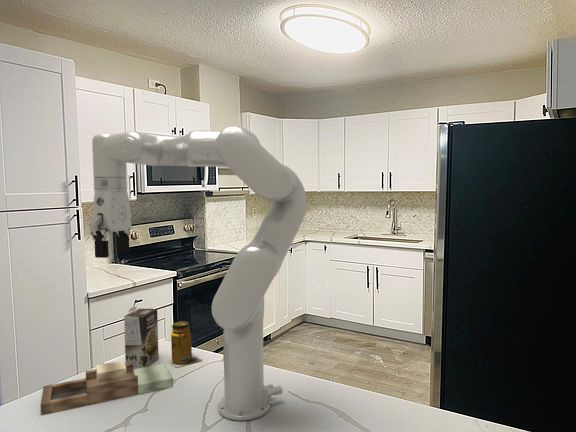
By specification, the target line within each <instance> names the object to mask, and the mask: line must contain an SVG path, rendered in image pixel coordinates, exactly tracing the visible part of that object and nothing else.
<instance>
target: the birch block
mask: <svg viewBox="0 0 576 432" xmlns="http://www.w3.org/2000/svg"><path fill="white" fill-rule="evenodd" d="M95 369H96V379H97V383H100V382H105V381H110V380H115V379H120V378H126V377H127V374H126V366H125V360H118V361H113V362H107V363H102V364H97V365H95Z"/></svg>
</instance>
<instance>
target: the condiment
mask: <svg viewBox="0 0 576 432" xmlns="http://www.w3.org/2000/svg"><path fill="white" fill-rule="evenodd" d="M171 328H172V329H171V330H172V332H171V334H170V336H171V337H170V339H171V340H170V341H171V342H170V343H171V359H167V362H169V363H170V364H171V365H173V366H174V367H176V368H180V367H185V366H187V365H191V364H194V363H198V362H200V361H203V359H201V358H199V357H198V356H196V355H195V354H194V353H193V352H192V351H193V349H192V346H193V345H192V332H191V325H190V322H188V321H185V320H184V321H177V322H174V323H172V325H171Z"/></svg>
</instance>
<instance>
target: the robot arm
mask: <svg viewBox="0 0 576 432" xmlns="http://www.w3.org/2000/svg"><path fill="white" fill-rule="evenodd" d="M91 142H92V143H91V146H92V148H91V149H92V169H93V170H92V171H93V173H92V174H93V191H94V194H93V195H94V196H93V208H92V211H93V213H92V220H91V221H90V222H89V223H88V227H89V230H90V234H91V236H92V240H93V242H94V257H95V258H98V259H99V258H100V259H101V258H103V259H107V258H109V257H110V253H109V250H110V247H109V240H107V239H108V236H109V234H110V232H111V233H116V234H117V236H116V237H115V238H116V251H117V252H118V253H119V252H121V253H124V252H125V253H127V252H130V234H131V233H130V230H131V228H132V214H131V213H132V211H131V204H130V198H129V193H128V178H127V176H128V175H127V163H128V164H135V165H143V166H144V165H145V166H153V167H154V166H155V167H156V166H158V167H159V166H161V167H163V166H164V167H165V166H166V167H167V166H169V167H170V166H171V167H174V166H176V167H177V166H178V167H180V166H182V167H190V168H191V167H197V168H198V167H199V168H200V167H205V168H206V167H207V168H208V167H213V168H214V167H215V168H217V167H220V168H221V167H222V168H224V167H225V168H226V167H227V168H229V170H230V171H231V172H232V173H233V174H234V175H236V177H238V178H239V180H241V181H242V182H243V183H244V184H245V186H247V187H248V188H249V189H250V190H251V191H252V192H253V193H254V194H256V196H258V197H259V198H261V199H262V200H264V201H267V202H270V206H269V209H268V210H267V213H266V214H265V216H264V218H263V219H262V220H261V221H262V222H261V224H260V225H259V228H258V230H257V231H256V233H255V235H254V237H253V239H252V240H251V242H249V243H248V244H246V245H245V246H244V247H242V248H241V249H240V250H239V251H238V252H237V254H236V255H235V257H234V258H233V260H232V262H231V264H230V266H229V267H228V269H227V272H226V273H225V275H224V277H223V279H222V281H221V283H220V285H219V287H218V289H217V291H216V293H215V295H214V296H213V299H212V303H211V314H212V317H213V320H214V321H215V323H216V325H218V326H219V328H220V327H221V329H223V335H222V337H223V341H222V342H223V384H224V385H223V386H224V396H223V397H222V398H221V399H220V400H219V402H218V403H217V404H218V405H217V409H218V412H219V414H220V415H221V416H222V417H224V418H226V419H229V420H233V421H251V420H255V419H257V418H260V417H262V416H264V415H265V414H267V413H268V412H269V410H270V408H271V400H270V399H271V398H272V396H277V395H282V394H283V387H282V385H278V386H274V385H273V383H270V384H267V385H264V383H265V381H264V315H265V313H264V312H265V295H266V293H267V292H268V290H269V288H270V286H271V284H272V282H273V280H274V278H275V277H276V276H277V274H278V273H279V272H280V270H281V268H282V265H283V262H284V259H285V258H286V256H287V254H288V252H289V250H290V248H291V246H292V244H293V242H294V240H295V237H296V236H297V233H298V232H299V229H300V228H301V225H302V223H303V220H304V218H305V214H306V210H307V195H306V190H305V187H304V185H303V182H302V181H301V180H300V178H299V176H298V175H297V174H296V172H295V171H294V170H293V169H291V168H290V167H289V166H287V165H284V164H282V163H281V162H280V161H279V160H278V159H276V157H274V156H273V155H272V154H271V153H270V152H269V151H268V150H267V149H266V148H265V147H264V146H262V144H261V142H260V140H259V138H258V137H257V135H256V134H255V133H254V132H252V131H250V130H248V129H246V128H244V127H243V126H240V125H239V126H237V125H232V126H228V127H225V128H224V129H222V130H208V129H207V130H195V129H194V130H191V131H189V132H188V133H187V134H185V135H181V136H154V135H150V134H148V133H147V134H146V133H142V132H138V131H124V132H120V133H98V134H95V135H93V137H92V141H91Z"/></svg>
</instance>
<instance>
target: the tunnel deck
mask: <svg viewBox="0 0 576 432" xmlns="http://www.w3.org/2000/svg"><path fill="white" fill-rule="evenodd" d="M125 366H126V374H127V377H126V378H120V379H115V380H110V381H105V382H100V383H97V379H96V368H95V369H89V370H85V377H84V378H81V379H74V380H70V381H63V382H60V383H59V382H58V383H54V384H47V385H44V386H43V388H42V392H41V393H42V394H41V402H40V415H41V416H44V415H47V414H53V413H56V412H57V413H58V412H61V411H66V410H71V409H76V408H80V407H81V408H82V407H85V406H89V405H90V406H92V405H94V404H95V405H96V404H99V403H104V402H109V401H113V400H118V399H119V400H120V399H122V398H123V399H124V398H127V397H133V396H136V395H137V396H138V395H142V394H146V393H152V392H156V391H161V390H165V389H170V388H174V377H173V375H172V373H171V372H170V370H169V368H168V366H167V364H166V363H160V364H156V365H150V366H148V367H144V368H139V369H133V363H127V364H125Z"/></svg>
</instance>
